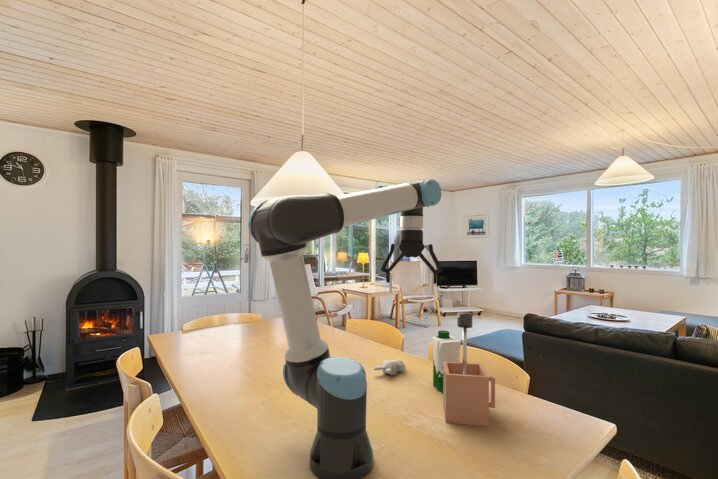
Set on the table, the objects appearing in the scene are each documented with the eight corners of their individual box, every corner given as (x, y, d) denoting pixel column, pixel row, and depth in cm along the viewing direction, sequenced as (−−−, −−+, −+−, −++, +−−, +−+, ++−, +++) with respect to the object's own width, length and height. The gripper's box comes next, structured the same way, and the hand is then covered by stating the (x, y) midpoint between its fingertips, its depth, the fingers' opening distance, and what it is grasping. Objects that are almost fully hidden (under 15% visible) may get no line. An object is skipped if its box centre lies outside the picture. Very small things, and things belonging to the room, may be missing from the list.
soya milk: (450, 382, 135) (451, 329, 135) (464, 392, 126) (464, 335, 127) (429, 385, 133) (429, 330, 133) (441, 395, 124) (441, 337, 124)
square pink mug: (498, 427, 103) (499, 378, 103) (445, 422, 105) (446, 374, 105) (490, 408, 115) (490, 364, 115) (443, 404, 117) (443, 361, 117)
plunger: (482, 391, 105) (482, 316, 105) (451, 389, 107) (451, 315, 107) (477, 380, 114) (477, 311, 114) (448, 378, 115) (449, 310, 116)
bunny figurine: (410, 360, 148) (392, 366, 136) (409, 373, 148) (391, 380, 136) (390, 356, 154) (371, 361, 142) (389, 368, 153) (370, 374, 141)
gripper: (448, 230, 122) (447, 292, 122) (375, 229, 125) (374, 290, 125) (451, 229, 115) (450, 295, 115) (373, 228, 118) (373, 293, 118)
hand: (411, 293), depth 120 cm, fingers open, 13 cm apart
